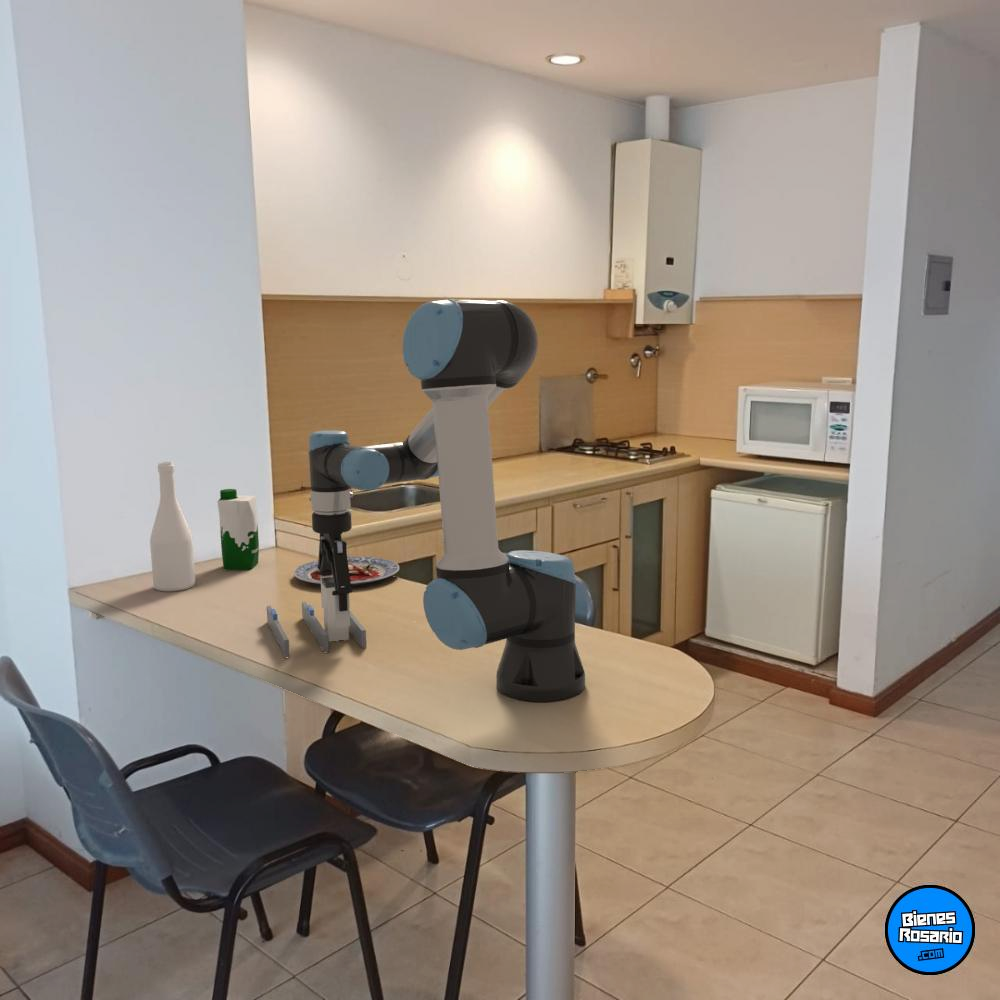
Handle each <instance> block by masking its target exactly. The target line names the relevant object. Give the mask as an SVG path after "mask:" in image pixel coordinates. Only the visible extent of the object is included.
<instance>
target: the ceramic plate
mask: <svg viewBox="0 0 1000 1000" xmlns="http://www.w3.org/2000/svg"><path fill="white" fill-rule="evenodd" d="M347 559H348V567H349V575H350V582H351V585H353V586H360V585H359V584H361V585H364V584H370V583H373V582H376V581H380V580H384V579H386V578H387V579H388V578H389V577H391V576H394V575H396V574H397V573H399V571H400V565H399V564H398V563H397V562H395V561H392V560H389V559H385V558H382V557H381V558H379V557H372V556H347ZM378 574H380V575H378ZM330 575H332V574H330ZM293 576H294V577H295V578H296V579H298V580H300V581H303V582H306V583H312V584H318V585H321V576H323V575H320V570H319V569H318V560H314V561H310V562H307V563H303V564H302V565H300V566H297V567H296V568H294V570H293Z"/></svg>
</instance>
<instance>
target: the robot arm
mask: <svg viewBox="0 0 1000 1000" xmlns="http://www.w3.org/2000/svg"><path fill="white" fill-rule="evenodd" d="M538 337H539V336H538V333H537V328H536V326H535V324H534V322H533V320H532V319H531V317H530V315H528V314H527V312H526V311H524V310H523V309H522V308H521V307H520V306H518V305H517V304H515V303H511V302H509V301H505V300H473V299H472V300H471V299H444V300H442V299H441V300H434V301H433V300H432V301H428V302H424V303H422V304H420V306H418V307H417V308H416V309H415V310H414V311H413V312H412V314H411V316H410V317H409V319H408V321H407V323H406V326H405V328H404V332H403V337H402V358H403V362H404V365H405V366H406V367H407V371H408V372H409V374H410V375H411V376H412V377H414V378H417V379H418V380H420V384H421V385H420V386H421V392H422V393H423V394H424V395H425V396H426V397H428V398H429V399H430V400H431V403H432V407H431V409H429V411H427V413H426V415H424V417H423V418H422V419H421V420H420V422H419V423H418V424H417V425H416V426H415V428H414V429H413V430H412V431H411V433H410V434H409V435H408V436H407V437H406V438H405V440H402V441H398V442H390V443H380V444H370V445H361V446H360V445H357V446H356V445H350V439H349V435H348V433H347V432H346V431H344V430H334V429H333V430H332V429H331V430H329V429H328V430H319V431H318V430H316V431H314V432H312V433H310V435H309V437H308V440H309V441H308V446H309V447H308V448H309V449H308V452H307V454H308V459H309V460H308V461H309V462H308V463H309V464H308V465H309V477H310V478H309V479H310V481H309V483H310V491H309V492H310V507H311V510H312V511H313V512H312V513H311V523H312V524H311V526H312V528H311V529H312V531H313V532H314V533H316V534H319V546H318V547H319V548H318V559H317V561H318V569H319V570H320V575H323V576H321V584H320V594H321V595H320V598H321V608H322V609H324V605H323V584H322V578H326V577H333V580H334V586H335V591H333V592H332V595H334V603H335V627H336V628H337V627H346V626H350V611H351V610H350V593H352V592H353V588H352V586H351V582H350V575H349V567H348V559H347V557H348V553H347V547H348V545H347V542H346V541H345V540H343V539H342V534H343V533H347V532H349V531H351V530H352V524H353V523H352V512H351V511H350V509H351V506H352V505H351V498H353V496H354V493H353V492H352V491H351V489H350V488H353V489H356V490H358V491H374V490H378V489H379V488H381V486H383V485H389V484H396V483H401V482H409V481H418V480H419V481H420V480H421V481H423V480H424V481H425V480H428V479H430V478H435V477H438V487H439V488H438V489H439V500H440V512H441V513H440V514H441V523H442V524H441V527H442V538H443V549H444V550H443V554H442V556H440V559H438V561H437V562H436V564H435V574H436V578H434V579H432V581H430V582H429V583H427V585H426V587H425V590H424V591H423V597H422V598H423V599H422V601H423V603H422V605H423V610H424V614H425V618H426V620H427V623H428V625H429V627H430V629H431V631H432V633H434V634H435V637H437V639H438V640H439V641H440V642H441V643H442V644H444V645H445V646H446V647H448V648H450V649H451V650H452V649H453V650H457V651H462V650H463V651H464V650H467V649H473V648H474V649H475V648H477V649H479V648H481V647H484V646H485V645H488V644H493V643H496V642H499V641H502V640H506V641H505V644H504V648H503V651H502V654H501V658H500V660H499V663H498V666H497V670H496V689H498V691H499V692H500V693H502V694H504V695H505V696H506V697H507V696H508V697H510V698H513V699H517V700H521V701H529V702H555V701H561V700H567V699H569V698H573V697H575V696H577V695H579V694H580V693H582V692H583V691H584V689H585V687H586V673H585V669H584V666H583V664H582V663H583V662H582V659H581V657H580V654H579V651H578V649H577V645H576V632H575V631H576V585H577V580H576V574H575V565H574V562H573V561H572V559H570V558H569V557H567V556H565V555H563V554H557V553H554V552H550V551H549V552H548V551H540V550H539V551H538V550H525V549H524V550H523V549H522V550H520V549H519V550H511V551H509V552H507V553H506V554H504V553H503V552H502V551H501V550H500V549H499V539H498V527H497V523H498V522H497V511H496V497H495V484H494V481H495V480H494V472H493V471H494V470H493V456H492V455H493V454H492V443H491V432H490V431H491V430H490V414H489V407H490V405H492V403H493V402H494V401H495V400H496V399H497V398H499V396H500V394H502V392H503V391H504V390H510V389H512V388H514V387H515V386H517V385H518V384H519V382H521V380H522V379H523V378H524V377H525V376H526V374H527V373H528V372H529V371H530V369H531V367H533V366H532V365H533V363H534V362H535V360H536V356H537V352H538V347H539V342H538V341H539V339H538ZM330 574H332V575H330ZM341 586H344V587H341Z"/></svg>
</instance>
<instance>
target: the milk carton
mask: <svg viewBox="0 0 1000 1000" xmlns="http://www.w3.org/2000/svg"><path fill="white" fill-rule="evenodd" d="M219 492H220V493H219V494H220V498H219V499H218V500H217V509H218V517H219V532H220V534H219V535H220V545H221V546H220V547H221V559H222V567H223V570H224V571H227V570H228V571H241V570H243V571H244V570H245V571H248V570H250V571H251V570H252V569H253V568H255V567H256V566H257V565H258V564H259V556H260V553H259V551H260V542H259V540H260V539H259V526H258V525H259V524H258V522H259V521H258V510H257V509H258V507H257V496H256V495H246V494H244V495H243V494H242V495H238V494H237V489H236V488H235V489H234V488H226V489H225V488H224V489H221V490H220V491H219Z"/></svg>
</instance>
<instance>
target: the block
mask: <svg viewBox="0 0 1000 1000" xmlns="http://www.w3.org/2000/svg"><path fill="white" fill-rule="evenodd" d="M322 584H323V605H324V608H323V621H324V623H323V624H324V627H323V628H324V630H325V631H326V633H327V634H328V641H329V642H328V643H331V642H330V641H336V642H340V641H339V640H344V641H349V640H350V631H349V626H346V627H337V628H336V627H335V603H334V595H332V592H333V591H335V586H334V580H333V577H326V578H322ZM341 587H344V586H341Z"/></svg>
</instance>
